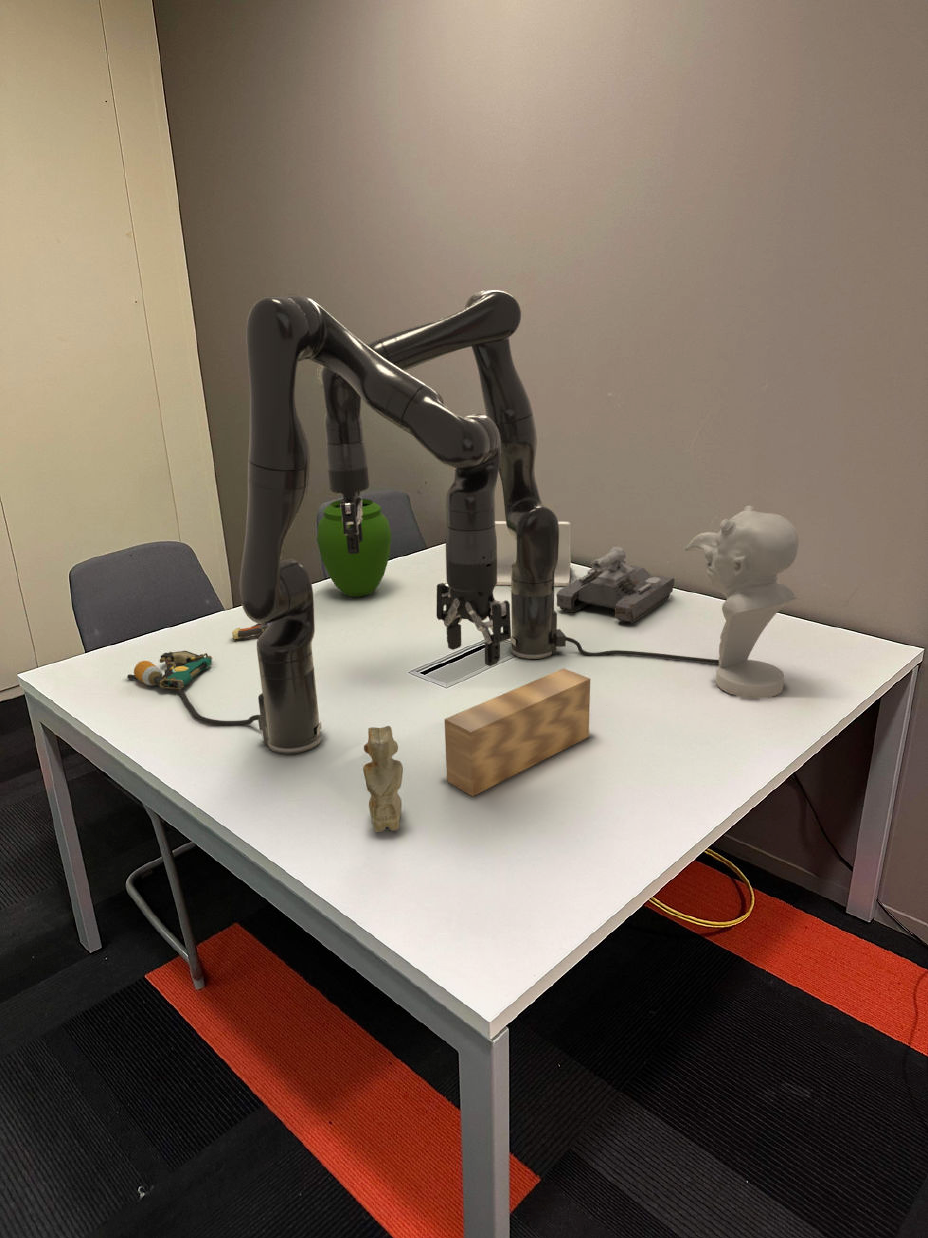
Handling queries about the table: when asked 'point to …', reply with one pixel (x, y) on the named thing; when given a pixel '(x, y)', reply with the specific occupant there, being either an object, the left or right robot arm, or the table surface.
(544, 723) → the box
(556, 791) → the table surface
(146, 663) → the spray gun
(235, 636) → the toy gun
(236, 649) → the table surface
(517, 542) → the right robot arm
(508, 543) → the tablet stand
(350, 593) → the vase
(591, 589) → the toy
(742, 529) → the bust sculpture
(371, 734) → the sculpture
